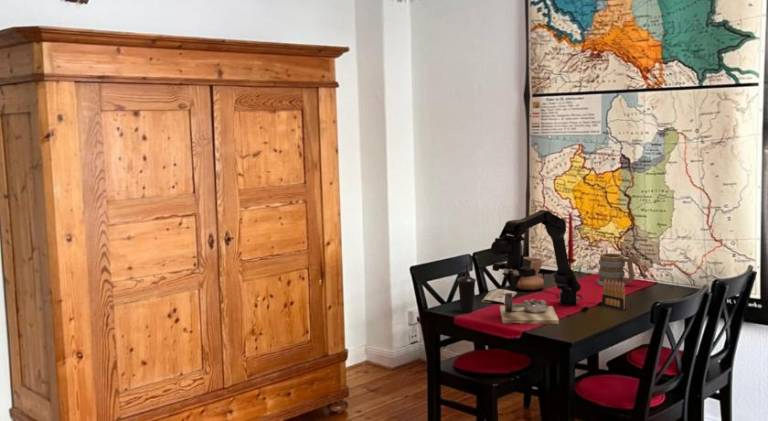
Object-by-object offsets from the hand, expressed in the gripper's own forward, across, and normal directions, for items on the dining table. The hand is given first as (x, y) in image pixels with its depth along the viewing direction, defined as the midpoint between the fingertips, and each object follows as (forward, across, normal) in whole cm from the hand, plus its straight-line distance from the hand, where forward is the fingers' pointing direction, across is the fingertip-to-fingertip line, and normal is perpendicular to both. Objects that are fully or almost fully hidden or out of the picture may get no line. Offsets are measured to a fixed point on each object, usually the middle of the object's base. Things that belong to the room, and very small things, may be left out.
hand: (513, 290), depth 321 cm
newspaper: (+12, +28, -20) cm, 36 cm away
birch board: (+12, -2, -7) cm, 14 cm away
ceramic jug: (+12, +30, -43) cm, 53 cm away
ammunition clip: (+12, -17, -44) cm, 48 cm away
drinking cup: (+12, +20, +6) cm, 24 cm away
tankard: (+11, +7, -80) cm, 81 cm away
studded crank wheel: (+10, 0, -8) cm, 12 cm away
